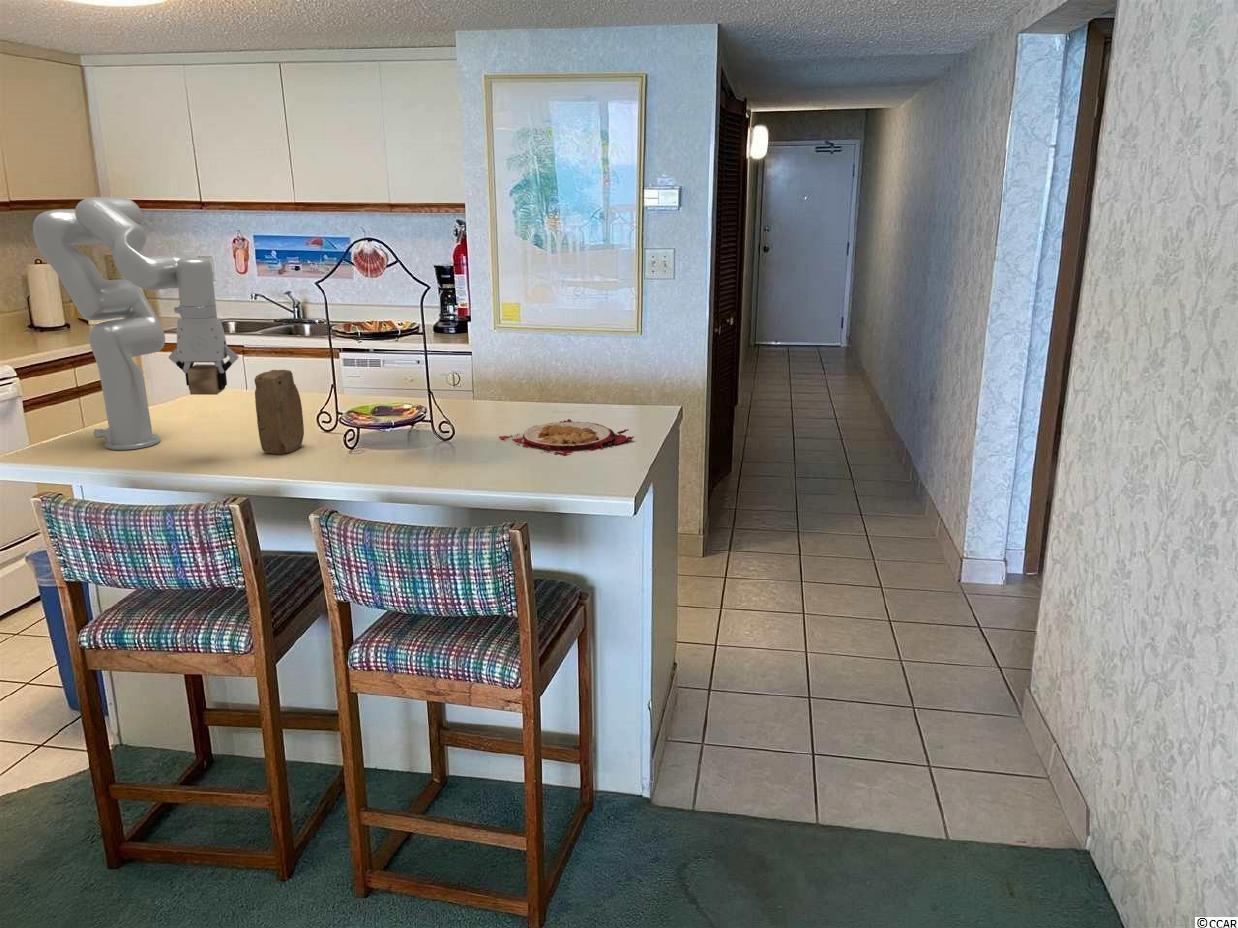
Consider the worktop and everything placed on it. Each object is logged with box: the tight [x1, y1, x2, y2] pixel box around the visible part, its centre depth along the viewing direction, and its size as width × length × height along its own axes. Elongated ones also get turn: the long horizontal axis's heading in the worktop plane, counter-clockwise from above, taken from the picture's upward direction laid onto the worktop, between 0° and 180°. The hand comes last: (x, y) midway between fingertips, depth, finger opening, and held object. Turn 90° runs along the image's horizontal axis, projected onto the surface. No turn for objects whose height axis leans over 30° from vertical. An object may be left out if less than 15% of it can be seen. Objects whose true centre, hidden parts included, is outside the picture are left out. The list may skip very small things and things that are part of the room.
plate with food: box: [498, 418, 635, 457], centre depth 232 cm, size 25×26×4 cm
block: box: [253, 369, 305, 455], centre depth 220 cm, size 11×8×20 cm
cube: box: [187, 363, 226, 396], centre depth 210 cm, size 6×6×6 cm
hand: (207, 387), depth 211 cm, fingers closed on cube, 6 cm apart
